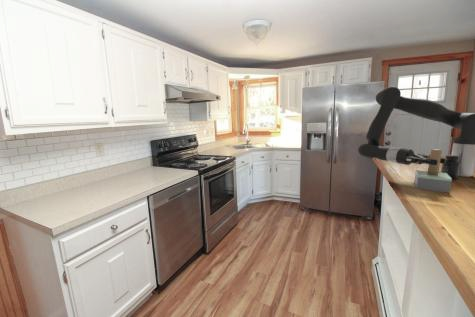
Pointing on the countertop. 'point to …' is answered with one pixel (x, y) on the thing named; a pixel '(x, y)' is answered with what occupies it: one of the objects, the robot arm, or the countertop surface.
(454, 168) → the supplement bottle
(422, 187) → the storage box
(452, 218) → the countertop surface
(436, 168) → the peg on green base
